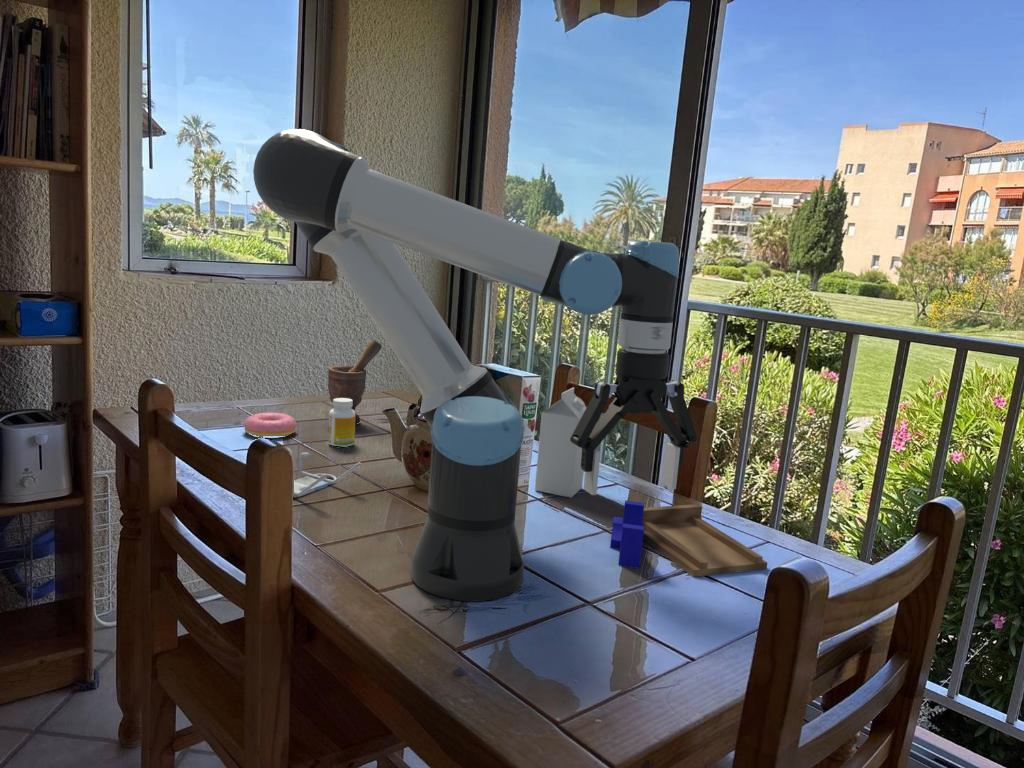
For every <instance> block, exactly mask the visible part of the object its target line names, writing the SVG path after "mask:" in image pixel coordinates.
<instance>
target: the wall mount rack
mask: <svg viewBox="0 0 1024 768" xmlns="http://www.w3.org/2000/svg"><path fill="white" fill-rule="evenodd" d="M305 457H306V458H308V457H310V453H309V452H302V453H300V454H299V472H300V474H302V475H304V476H303V477H300V478H298V479H294V480H293V481H294V498H299V497H302V496H305V495H308V494H310V493H313V492H317V491H319V490H321V489H324V488H327V487H328V486H329V485H333V484H336V483H338V482H339V481H340V480H343V479H344V478H345V477H347V476H348V475H349V474H351V473H352V472H354V471H355V470H358V469H359V468H360V467H361V466H362V463H361V462H360V461H358V462H357V463H355V464H354V465H353V466H352V467H351V468H350V469H348V470H347V471H345V472H344V473H343V474H342V475H340V476H338V477H336V476H335V475H333V474H330V473H315V474H312V473H309V472H307V471H304V462H303V461H304V460H303V459H304V458H305ZM329 478H330V479H329Z"/></svg>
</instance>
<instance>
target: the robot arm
mask: <svg viewBox="0 0 1024 768" xmlns="http://www.w3.org/2000/svg"><path fill="white" fill-rule="evenodd" d="M253 163H254V164H253V171H252V172H253V180H254V186H255V188H256V191H257V194H258V196H259V197H260V199H261V200H262V202H263V203H264V204H265V205H266V206H267V207H268V209H269V210H271V212H273V213H274V214H276V215H277V216H279V217H282V218H283V219H284V220H289V221H291V222H294V223H295V225H296V226H297V228H298V229H299V230H300V232H301V233H302V235H303V236H304V237H305V239H306V241H307V242H308V243H309V245H310V247H311V248H312V249H313V251H314V252H316V253H320V254H324V255H327V256H329V257H330V258H331V259H332V260H333V262H334V263H335V265H336V267H337V268H338V270H339V271H340V272H341V274H342V276H343V277H344V278H345V280H346V281H347V283H348V285H349V286H350V288H351V289H352V291H353V292H354V294H355V295H356V297H357V298H358V300H359V301H360V303H361V304H362V306H363V307H364V308H365V310H366V312H367V313H368V315H369V316H370V318H371V319H372V322H374V324H375V326H376V327H377V330H378V331H379V332H380V334H381V335H382V336H383V338H384V340H385V341H386V343H387V344H388V346H389V347H390V349H391V350H392V351H393V353H394V355H395V356H396V358H397V359H398V361H399V362H400V364H401V366H402V367H403V368H404V370H405V373H407V375H408V376H409V378H410V379H411V381H412V382H413V384H414V386H415V387H416V388H417V390H418V391H419V393H420V395H421V399H422V400H421V404H420V409H419V412H420V413H421V415H422V417H423V418H424V419H425V421H426V422H427V424H428V426H429V427H430V436H431V453H430V454H431V455H430V470H429V485H428V499H427V501H428V502H427V516H426V521H425V523H424V526H423V527H422V530H421V533H420V536H419V537H418V541H417V543H416V546H415V548H414V550H413V553H412V556H411V561H410V576H411V577H410V578H411V579H412V581H413V582H414V584H415V585H416V586H418V587H419V588H420V589H422V590H423V591H425V592H427V593H429V594H432V595H434V596H437V597H440V598H443V599H448V600H456V601H465V602H466V601H467V602H480V601H481V602H482V601H489V600H495V599H496V600H497V599H499V598H504V597H506V596H508V595H511V594H512V593H514V592H515V591H517V590H518V589H519V588H520V587H521V585H522V584H523V580H524V570H525V563H524V562H525V561H524V558H523V553H522V549H521V546H520V541H519V538H518V533H517V529H516V525H515V524H516V523H515V522H516V510H517V499H518V498H517V497H518V487H519V486H518V484H519V477H520V476H519V475H520V464H521V463H520V462H521V452H522V450H521V449H522V443H523V441H524V426H523V417H522V415H521V412H520V411H519V410H518V408H517V407H516V405H515V404H514V402H513V400H511V398H509V397H508V395H507V394H506V393H503V391H501V389H500V387H499V386H498V385H497V383H496V382H495V380H494V379H493V377H492V375H491V374H490V372H489V370H487V368H486V367H482V366H479V365H474V364H472V363H471V361H470V360H469V358H468V357H467V355H466V354H465V352H464V350H463V349H462V347H461V346H460V345H459V343H458V341H457V340H456V338H455V336H454V334H453V332H451V329H450V328H449V327H448V325H447V324H446V322H445V320H444V319H443V318H442V316H441V315H440V313H439V311H438V310H437V309H436V307H435V305H434V304H433V302H432V300H431V299H430V297H429V296H428V294H427V292H426V291H425V289H424V287H422V285H421V284H420V282H419V280H418V278H417V277H416V275H415V274H414V272H413V270H412V269H411V267H410V266H409V265H408V263H407V261H406V260H405V258H404V257H403V255H402V253H401V252H400V250H399V249H398V247H397V246H400V247H402V248H406V249H409V250H411V251H414V252H417V253H420V254H422V255H425V256H428V257H431V258H433V259H436V260H439V261H442V262H444V263H447V264H449V265H453V266H455V267H458V268H462V269H464V270H467V271H470V272H472V273H475V274H478V275H481V276H484V277H487V278H489V279H492V280H495V281H497V282H499V283H502V284H506V285H508V286H511V287H513V288H516V289H520V290H522V291H525V292H528V293H531V294H534V295H537V296H539V297H540V299H541V300H542V301H544V302H547V303H555V304H557V305H562V306H566V307H568V308H570V310H572V311H574V312H576V313H579V314H581V315H586V316H594V315H597V314H601V313H604V312H605V311H607V310H609V309H611V308H612V307H620V309H621V310H620V319H619V330H618V331H619V332H618V340H617V344H618V345H619V346H620V347H621V348H619V349H618V350H617V352H616V363H615V374H616V376H615V377H616V378H615V382H614V383H608V382H607V383H606V382H603V381H601V380H597V381H596V382H595V384H594V389H593V394H592V397H591V398H590V400H589V402H588V404H587V406H586V410H585V412H584V414H583V415H582V417H581V419H580V421H579V423H578V425H577V427H576V429H575V430H574V432H573V434H572V436H571V438H570V441H571V442H572V443H573V444H575V445H577V446H578V447H581V448H582V456H581V469H582V470H584V477H583V490H584V491H586V492H587V493H588V494H590V495H591V496H597V495H598V494H597V492H598V482H599V472H600V459H601V451H600V450H599V449H597V448H598V446H600V444H601V443H602V442H603V441H604V440H605V438H606V437H607V436H608V434H609V433H611V431H612V430H613V429H614V428H615V427H616V425H617V424H618V422H620V420H621V419H622V418H625V417H626V416H627V415H628V414H632V415H633V414H634V415H635V414H640V413H644V414H651V413H652V414H653V415H654V417H655V419H656V420H657V423H659V425H660V426H661V428H662V429H663V431H664V432H665V434H666V435H667V437H668V438H669V440H670V441H671V442H667V443H665V453H664V461H663V471H662V479H661V484H662V485H663V486H665V487H666V488H669V489H670V490H676V489H677V481H678V473H679V471H678V470H679V467H682V465H683V460H684V452H685V451H684V450H685V449H687V448H689V447H690V444H691V443H696V442H697V440H698V436H697V434H696V430H695V427H694V424H693V420H692V417H691V414H690V411H689V407H688V405H687V403H686V400H685V399H686V398H685V385H684V383H682V382H679V381H677V380H673V379H672V380H671V379H670V380H669V382H666V378H667V377H668V376H669V375H668V373H669V367H670V366H669V365H670V354H669V352H667V350H669V349H671V346H672V345H671V343H672V333H673V326H674V325H673V324H674V323H673V322H674V314H675V307H676V306H675V305H676V297H677V296H676V295H677V289H678V281H679V280H678V279H679V275H680V274H679V266H680V265H679V264H680V263H679V261H680V250H679V247H678V246H677V245H676V244H675V243H673V242H663V241H662V242H661V241H648V240H630V241H628V243H627V244H626V249H625V251H624V253H622V252H620V253H609V252H608V253H607V252H600V251H596V250H590V249H588V248H585V247H582V246H580V245H576V244H574V243H571V242H569V241H565V240H562V239H561V238H558V237H554V236H553V235H550V234H547V233H546V232H542V231H539V230H537V229H534V228H532V227H528V226H526V225H523V224H520V223H517V222H514V221H512V220H510V219H506V218H503V217H501V216H498V215H495V214H494V213H490V212H487V211H485V210H482V209H479V208H477V207H473V206H471V205H468V204H466V203H463V202H462V201H461V202H460V201H458V200H456V199H453V198H450V197H447V196H445V195H442V194H439V193H436V192H434V191H431V190H428V189H426V188H423V187H421V186H418V185H415V184H412V183H409V182H406V181H404V180H401V179H398V178H396V177H393V176H390V175H387V174H384V173H382V172H380V171H377V170H374V169H371V168H370V166H369V165H368V162H367V161H366V159H365V157H363V156H360V155H357V154H354V153H352V152H351V151H350V150H349V149H348V148H347V147H345V146H343V145H341V144H339V143H337V142H335V141H332V140H330V139H328V138H326V137H324V136H323V135H320V134H319V133H317V132H314V131H311V130H307V129H303V128H302V129H301V128H299V129H297V128H292V129H286V130H281V131H280V132H277V133H275V134H274V135H272V136H271V137H270V138H268V139H267V140H266V141H265V142H264V143H263V144H261V146H260V149H259V150H258V152H257V154H256V156H255V159H254V162H253ZM396 245H397V246H396ZM613 394H614V396H615V397H614V399H613V401H612V402H611V403H610V404H609V405H608V408H607V410H606V411H605V408H606V406H607V404H608V401H609V399H610V398H612V397H613ZM665 395H667V396H668V400H669V403H670V405H671V410H672V412H673V415H674V417H675V420H676V422H675V421H674V420H673V417H671V415H670V413H669V412H668V408H667V407H666V405H665V404H664V402H663V401H662V399H663V398H664V396H665ZM604 411H605V412H604ZM603 412H604V414H603V415H602V413H603ZM601 415H602V416H601Z"/></svg>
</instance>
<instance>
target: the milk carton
mask: <svg viewBox="0 0 1024 768" xmlns="http://www.w3.org/2000/svg"><path fill="white" fill-rule="evenodd" d="M560 394H561V396H560V397H561V398H560V399H559V400H557V401H556V402H555V403H553V404H551V405H550V406H549V407H547V408H546V409H544V410H543V411H541V418H540V425H539V426H540V427H539V428H540V429H539V440H538V441H539V442H538V449H537V450H538V451H537V461H536V472H535V482H534V483H535V485H534V491H537V492H540V493H541V492H542V493H546V494H549V495H556V496H561V497H567V498H571V499H572V498H573V497H574V496H575V495H576V494H577V493H578V492H579V491H580V490H581V489H582V488H583V485H584V475H585V471H584V470H582V469H581V456H582V448H581V447H578V446H577V445H575V444H573V443H572V442H571V441H570V438H571V436H572V434H573V432H574V430H575V429H576V427H577V425H578V423H579V421H580V419H581V417H582V415H583V414H584V412H585V410H586V408H587V406H586V404H585V402H584V401H583V400H582V398H580V397H578V396H577V395H576V394H575V387H571V388H569V389H567V390H565V391H563V392H562V393H560Z"/></svg>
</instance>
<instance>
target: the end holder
mask: <svg viewBox="0 0 1024 768" xmlns="http://www.w3.org/2000/svg"><path fill="white" fill-rule="evenodd" d="M702 510H703V506H701V504H698V503H697V504H696V503H694V504H680V505H667V506H664V505H663V506H650V507H644V511H643V521H642V526H644V534H643V541H645V542H646V543H647V544H649V545H650V546H651V547H653V548H654V549H655V550H657V551H658V552H659V553H660V554H662V555H663V556H665V557H666V558H667V559H669V560H670V561H672V563H674V564H675V565H676V566H678V567H679V568H680V569H682V570H683V571H685V572H687V574H689V576H691V577H694V578H695V577H704V576H713V575H714V576H715V575H721V574H722V575H723V574H731V573H740V572H742V573H743V572H749V571H759V570H767V567H768V562H767V561H765V560H764V559H763V556H762V555H760V554H759V553H757V552H756V551H754V550H753V549H750V547H748V546H746V545H745V544H743V543H742V542H739V541H738V540H736V539H734V538H733V537H732V536H730V535H728V534H727V533H725V532H723V531H722V530H720V529H719V528H717V527H715V526H714V525H712V524H711V523H710V522H707V521H705V520H704V519H703V518H702V512H703V511H702Z"/></svg>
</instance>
